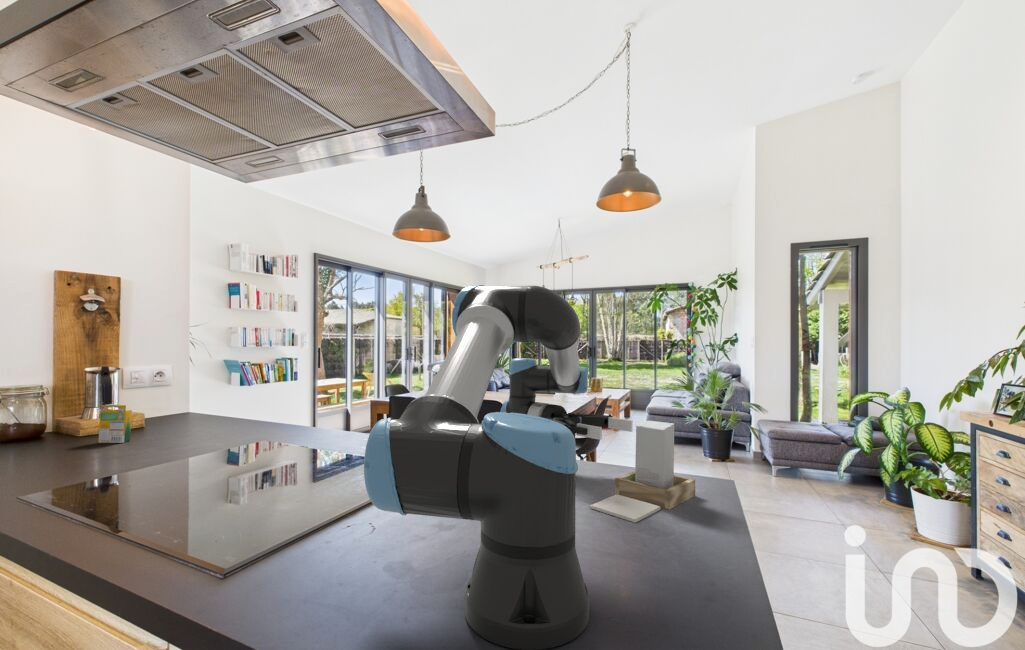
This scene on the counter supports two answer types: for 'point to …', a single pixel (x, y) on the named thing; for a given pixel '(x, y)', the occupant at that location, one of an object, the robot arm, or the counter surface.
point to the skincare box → (655, 454)
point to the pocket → (656, 491)
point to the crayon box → (114, 424)
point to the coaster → (625, 508)
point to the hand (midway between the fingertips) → (617, 429)
